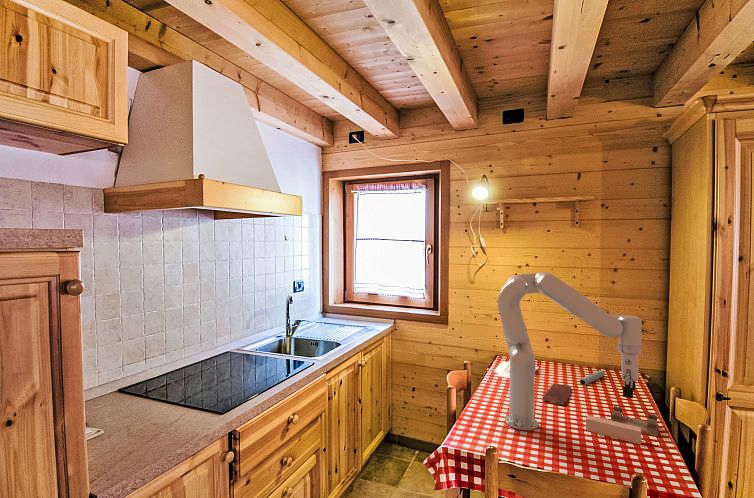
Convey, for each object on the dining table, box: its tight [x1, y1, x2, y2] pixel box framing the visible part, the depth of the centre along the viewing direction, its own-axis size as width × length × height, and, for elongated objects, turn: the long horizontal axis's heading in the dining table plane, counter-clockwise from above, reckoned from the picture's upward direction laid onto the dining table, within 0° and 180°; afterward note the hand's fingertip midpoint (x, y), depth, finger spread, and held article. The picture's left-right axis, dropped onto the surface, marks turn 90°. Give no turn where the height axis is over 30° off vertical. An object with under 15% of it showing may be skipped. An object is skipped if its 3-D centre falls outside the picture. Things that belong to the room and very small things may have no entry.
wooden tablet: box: [542, 383, 572, 406], centre depth 190 cm, size 27×10×2 cm, turn 145°
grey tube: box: [578, 369, 606, 386], centre depth 209 cm, size 23×7×3 cm, turn 128°
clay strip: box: [585, 415, 642, 445], centre depth 152 cm, size 4×18×5 cm, turn 54°
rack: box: [610, 405, 659, 437], centre depth 159 cm, size 10×16×4 cm, turn 53°
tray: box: [493, 360, 539, 379], centre depth 224 cm, size 20×28×4 cm
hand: (629, 393), depth 149 cm, fingers open, 9 cm apart
